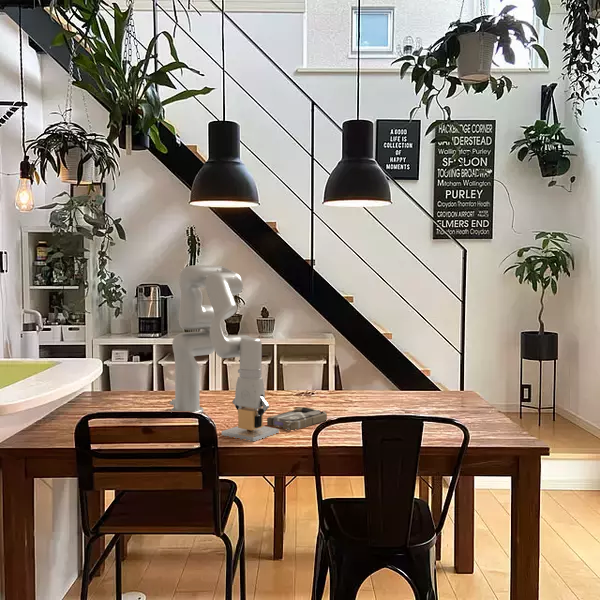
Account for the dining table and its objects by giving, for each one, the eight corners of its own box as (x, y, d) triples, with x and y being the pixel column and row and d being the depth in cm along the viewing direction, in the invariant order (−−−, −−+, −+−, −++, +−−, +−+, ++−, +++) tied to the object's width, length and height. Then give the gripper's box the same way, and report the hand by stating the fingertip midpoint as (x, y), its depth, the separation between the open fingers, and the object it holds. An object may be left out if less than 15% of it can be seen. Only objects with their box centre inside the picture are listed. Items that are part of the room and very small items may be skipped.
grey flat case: (260, 415, 243) (291, 422, 234) (301, 404, 262) (332, 410, 253) (260, 426, 243) (291, 432, 234) (301, 414, 262) (332, 420, 253)
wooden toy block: (238, 427, 228) (238, 409, 228) (249, 424, 233) (249, 406, 233) (251, 430, 225) (251, 411, 225) (262, 426, 230) (262, 408, 230)
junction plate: (221, 435, 228) (221, 418, 227) (247, 427, 239) (247, 410, 239) (253, 441, 220) (253, 423, 219) (278, 433, 231) (278, 416, 231)
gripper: (224, 372, 230) (224, 424, 231) (263, 377, 220) (263, 431, 221) (238, 370, 236) (238, 420, 237) (277, 374, 226) (276, 427, 227)
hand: (250, 425), depth 229 cm, fingers closed on wooden toy block, 5 cm apart
